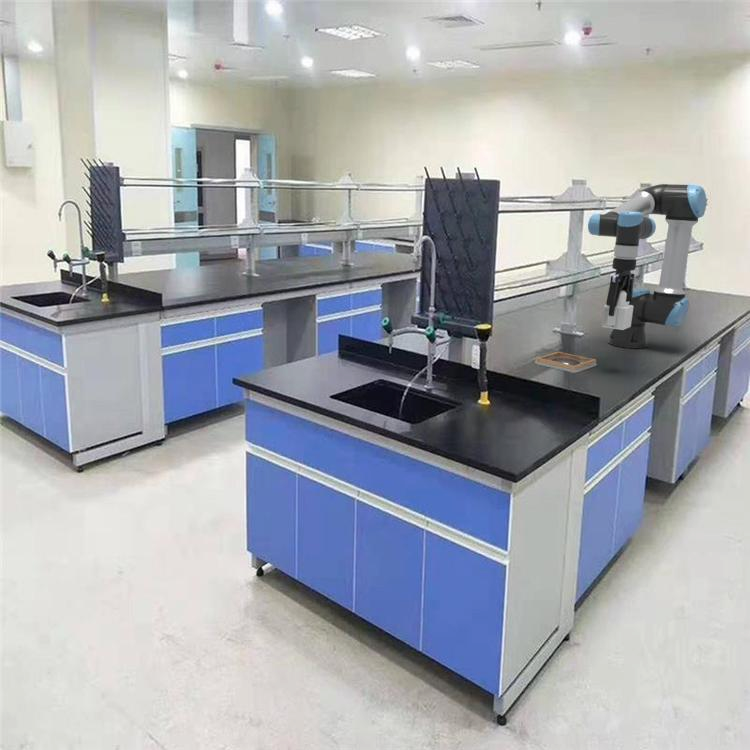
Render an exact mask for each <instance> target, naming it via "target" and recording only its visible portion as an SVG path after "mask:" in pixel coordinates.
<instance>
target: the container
mask: <svg viewBox="0 0 750 750" xmlns="http://www.w3.org/2000/svg"><path fill="white" fill-rule="evenodd" d="M630 294H631V293H630V292H629V291H627V290H621V293H620V296H619V299H618V302H617V306H616V307H618V308H617V316H616V323H615V326H612V325H607V319H608V311H609V306H606V304H605V305H604V306H603V310H602V311H603V313H602V319H601V327H602V328H606V329H612V330H613V329H619V330H624V329H627V328H629V327H631V321H632V314H633V305H628V304H629V301H630Z"/></svg>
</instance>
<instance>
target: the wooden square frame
mask: <svg viewBox="0 0 750 750" xmlns="http://www.w3.org/2000/svg"><path fill="white" fill-rule="evenodd" d="M534 364H535V365H538V366H542V367H546V368H547V367H548V368H551V369H556V370H559V371H560V370H561V371H564V372H568V373H573V374H576V373H579V372H582V371H585V370H587V369H588V370H589V369H591V368H593V367H596V366H597V359H595V358H589V357H585V356H580V355H577V354H576V355H575V354H572V353H566V352H562V351H555V352H552V353H549V354H545V355H543V356H539V357H536V358H535V361H534Z"/></svg>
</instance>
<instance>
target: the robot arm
mask: <svg viewBox="0 0 750 750" xmlns="http://www.w3.org/2000/svg"><path fill="white" fill-rule="evenodd" d="M706 209H707V194H706V192H705V189H704V188H703V187H702V186H701V185H695V184H674V183H673V184H666V183H660V184H655V185H651V186H649V187H646V188H644V189H641V190H639V191H638V192H635V193H634V194H633V195H632V197H631V198H630V199H628V200H627V201H625V202H623V203H622V204H620V205H618V206H616V207H615V208H613V209H612V210H610V211H608V212H605V214H604V213H603V214H602V213H594V214H592V215H591V216H590V217H589V220H588V223H587V227H588V228H587V229H588V232H589V234H590V235H592V236H598V237H612V238H615V242H614V243H615V244H614V247H613V249H614V251H613V252H614V253H613V256H614V258H613V260H612V266H611V267H612V269H613V270H616V271H615V274H614V275H611V276H610V283H609V288H608V292H607V298H606V302H605V305H606V306H609V311H608V319H607V325H612V326H615V323H616V316H617V308H618V307H616V306H617V302H618V299H619V296H620V293H621V290H627V291H629V292H630V293H631V294H630V301H629V304H628V305H633V314H632V321H631V327H629V328H627V329H624V330H619V329H613V328H612V330H611V333H610V335H609V337H608V342H609V343H610V344H609V343H608V344H609V345H611V344H612V346H614V345H615V347H618V346H619V348H623V347H625V349H636V348H637V349H645V348H647V346H648V337H647V333H646V323H648V324H654V325H661V326H665V327H679V326H680V325H681V324H683V322H684V320H685V319H686V316H687V315H688V312H689V309H690V300H689V298H687V297H686V292H685V290H684V289H683V287H684V286H683V285H684V279H685V274H686V273H685V272H686V267H687V261H688V256H689V249H690V244H691V237H692V232H693V231H692V230H693V227H694V226H695V225H696V224H697V223H698V222H699V219H700V218H702V217H703V216H704V215H705V212H706ZM648 215H661V216H665V222H666V223H667V224H668V227H667V233H666V240H665V246H664V252H663V258H662V265H661V271H660V276H659V283H658V286H657V287H656V288H655V289H654V290H653V293H651V289H649V288H634V279H635V273H631V271H635V270H636V267H637V261H638V260H637V259H636V258H638V253H639V245H640V240H645V239H648V238H651V237H652V236H653V235H654V233H655V232H656V228H657V225H656V221H655V220H654V219H653V218H651V217H648Z"/></svg>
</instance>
